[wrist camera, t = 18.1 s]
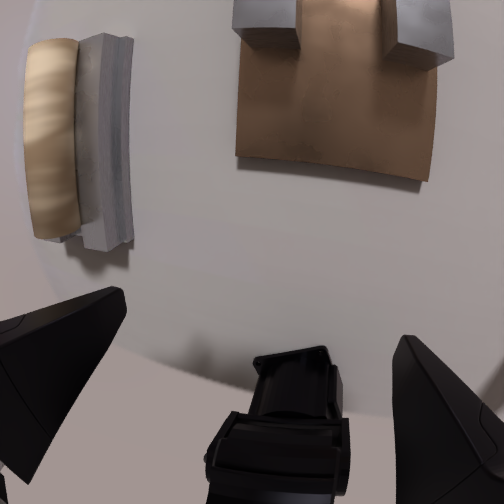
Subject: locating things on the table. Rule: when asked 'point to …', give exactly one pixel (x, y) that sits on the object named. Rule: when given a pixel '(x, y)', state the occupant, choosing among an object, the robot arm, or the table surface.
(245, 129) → the brown board with blocks
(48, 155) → the wooden axle
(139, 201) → the table surface
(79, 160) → the v block
